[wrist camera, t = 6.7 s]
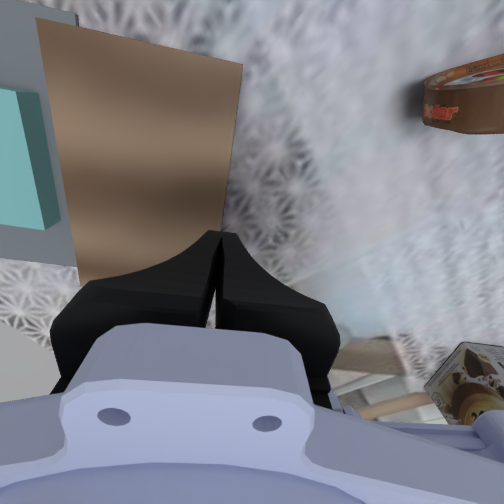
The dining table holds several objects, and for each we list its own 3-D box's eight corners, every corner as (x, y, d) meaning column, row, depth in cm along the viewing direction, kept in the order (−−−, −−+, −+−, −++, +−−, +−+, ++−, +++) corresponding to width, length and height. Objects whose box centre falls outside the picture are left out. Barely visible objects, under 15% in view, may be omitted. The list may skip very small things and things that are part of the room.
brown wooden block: (214, 272, 25) (211, 300, 21) (104, 259, 23) (80, 285, 20) (242, 72, 17) (243, 64, 14) (79, 36, 16) (34, 16, 12)
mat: (105, 268, 24) (103, 270, 24) (-29, 252, 23) (-32, 253, 22) (77, 14, 15) (74, 13, 15) (-142, -37, 14) (-149, -39, 14)
